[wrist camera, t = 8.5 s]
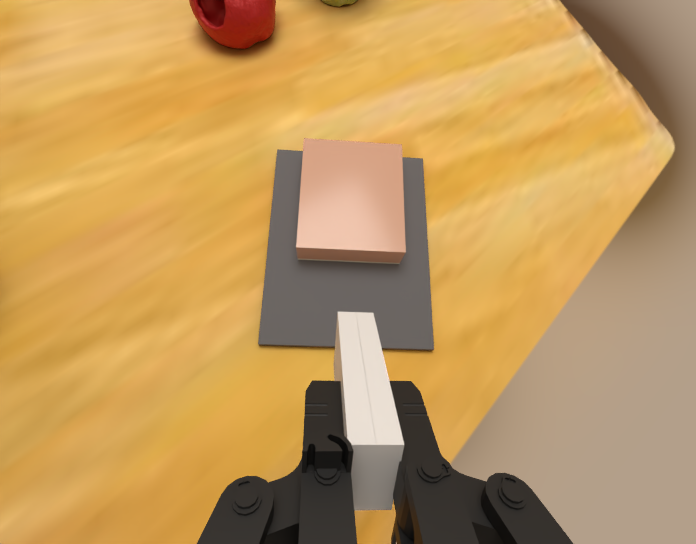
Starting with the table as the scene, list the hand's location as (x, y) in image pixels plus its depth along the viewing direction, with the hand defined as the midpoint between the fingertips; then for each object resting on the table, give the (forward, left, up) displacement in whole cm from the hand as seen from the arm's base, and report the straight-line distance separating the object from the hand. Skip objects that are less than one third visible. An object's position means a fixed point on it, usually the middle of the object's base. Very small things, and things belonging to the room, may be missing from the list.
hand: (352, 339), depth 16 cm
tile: (+9, +6, -17) cm, 20 cm away
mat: (+11, +8, -19) cm, 23 cm away
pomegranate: (+24, +37, -19) cm, 48 cm away
